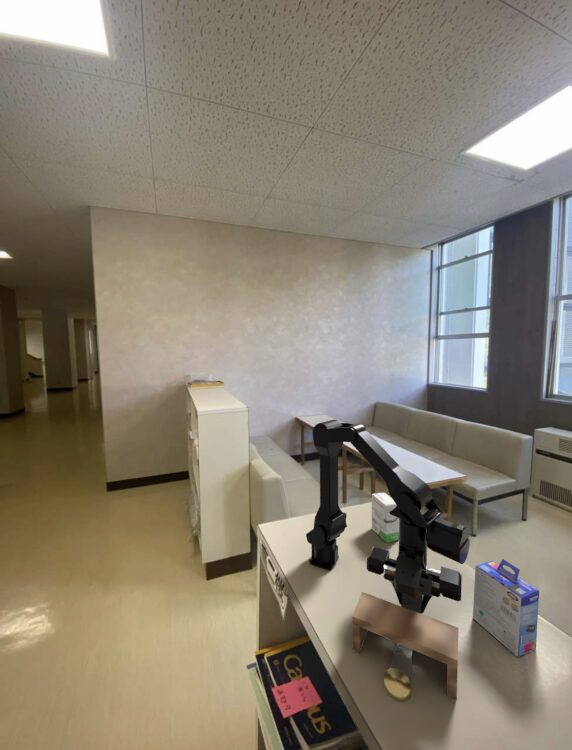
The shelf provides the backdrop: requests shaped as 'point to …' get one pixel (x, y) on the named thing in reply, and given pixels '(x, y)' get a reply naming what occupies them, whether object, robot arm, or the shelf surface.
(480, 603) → the ink cartridge box
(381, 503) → the ink box
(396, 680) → the gold round piece
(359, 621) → the walnut shelf
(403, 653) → the grey bar
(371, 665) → the shelf surface
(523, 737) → the shelf surface
